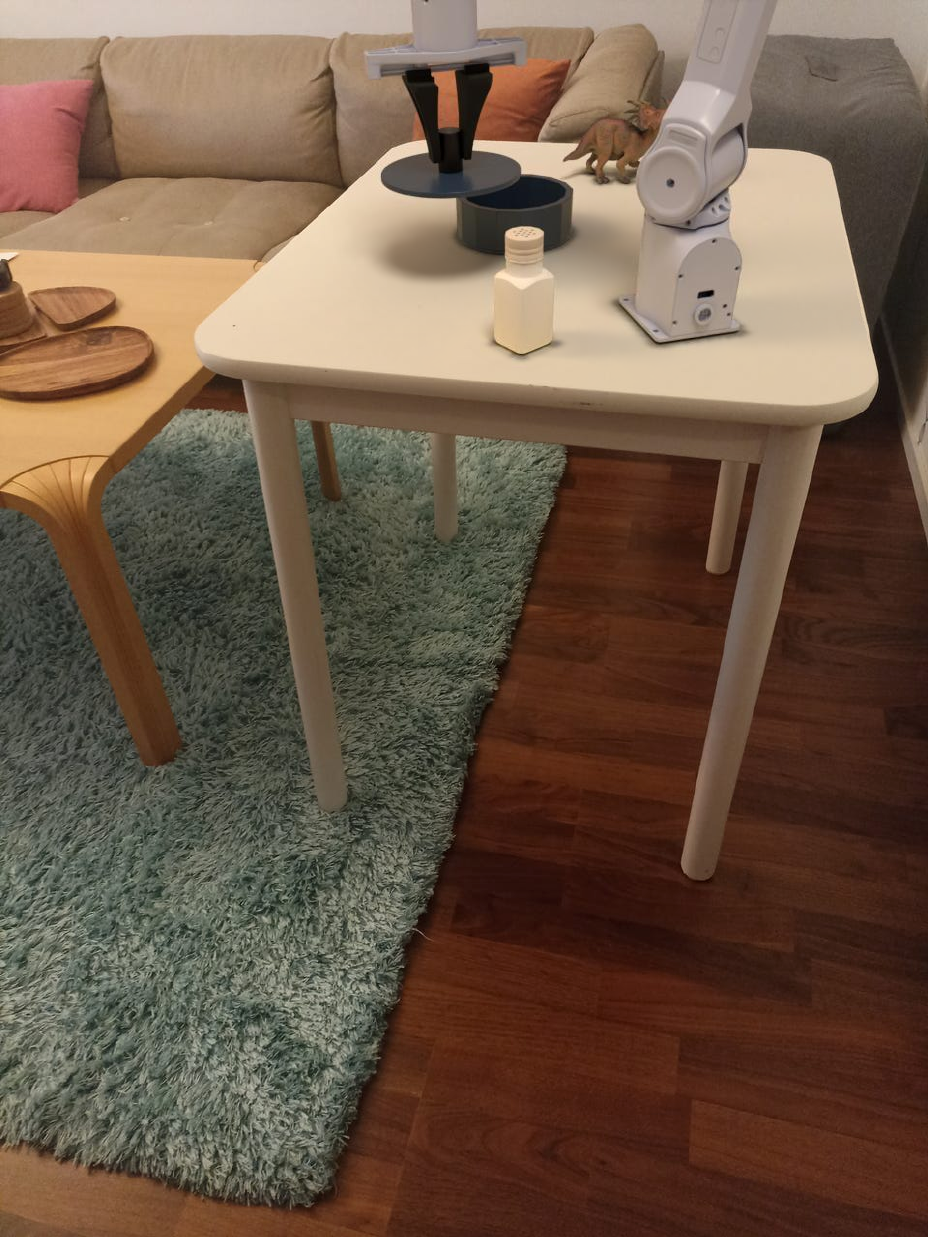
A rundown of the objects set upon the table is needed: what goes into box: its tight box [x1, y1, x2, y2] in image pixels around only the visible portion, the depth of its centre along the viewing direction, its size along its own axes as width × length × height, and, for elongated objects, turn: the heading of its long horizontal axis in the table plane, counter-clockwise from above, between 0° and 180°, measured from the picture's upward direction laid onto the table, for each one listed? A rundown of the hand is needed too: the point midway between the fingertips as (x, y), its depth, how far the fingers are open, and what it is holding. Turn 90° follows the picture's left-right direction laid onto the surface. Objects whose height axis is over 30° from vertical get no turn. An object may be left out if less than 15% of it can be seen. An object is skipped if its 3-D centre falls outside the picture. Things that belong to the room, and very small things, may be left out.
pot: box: [455, 173, 574, 255], centre depth 95 cm, size 13×13×4 cm
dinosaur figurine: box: [562, 95, 671, 185], centre depth 106 cm, size 14×6×9 cm, turn 82°
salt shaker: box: [493, 227, 556, 355], centre depth 73 cm, size 4×4×10 cm
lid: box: [380, 126, 522, 200], centre depth 82 cm, size 14×14×5 cm
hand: (450, 158), depth 82 cm, fingers closed on lid, 2 cm apart
